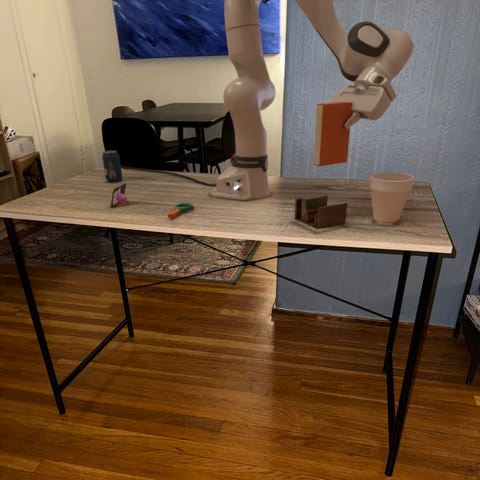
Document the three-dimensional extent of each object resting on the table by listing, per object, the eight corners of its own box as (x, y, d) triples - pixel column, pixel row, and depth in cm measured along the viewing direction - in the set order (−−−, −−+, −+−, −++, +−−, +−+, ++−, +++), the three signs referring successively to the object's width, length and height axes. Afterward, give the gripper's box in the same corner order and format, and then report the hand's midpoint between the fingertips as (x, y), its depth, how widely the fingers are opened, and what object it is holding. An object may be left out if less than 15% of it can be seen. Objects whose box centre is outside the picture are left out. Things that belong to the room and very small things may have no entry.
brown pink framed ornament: (123, 182, 163) (111, 188, 156) (136, 187, 163) (125, 194, 155) (120, 199, 167) (108, 206, 159) (133, 205, 167) (121, 212, 159)
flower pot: (413, 221, 139) (421, 175, 132) (395, 231, 131) (402, 183, 124) (376, 213, 146) (382, 170, 139) (357, 223, 138) (362, 177, 131)
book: (313, 164, 132) (316, 103, 124) (340, 160, 136) (345, 101, 128) (319, 166, 130) (323, 104, 122) (347, 162, 134) (352, 102, 126)
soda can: (118, 178, 200) (113, 149, 194) (125, 180, 195) (121, 151, 189) (103, 181, 196) (98, 151, 190) (110, 183, 191) (105, 153, 185)
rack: (293, 222, 140) (293, 197, 137) (321, 216, 145) (323, 192, 141) (316, 233, 131) (318, 206, 127) (346, 226, 136) (348, 200, 132)
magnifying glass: (179, 205, 159) (179, 200, 158) (195, 206, 157) (195, 201, 156) (161, 218, 146) (161, 213, 145) (179, 219, 145) (178, 214, 144)
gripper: (340, 77, 134) (311, 116, 135) (391, 79, 118) (358, 122, 119) (350, 93, 138) (322, 130, 139) (401, 97, 122) (369, 139, 123)
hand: (339, 127), depth 129 cm, fingers closed on book, 3 cm apart
